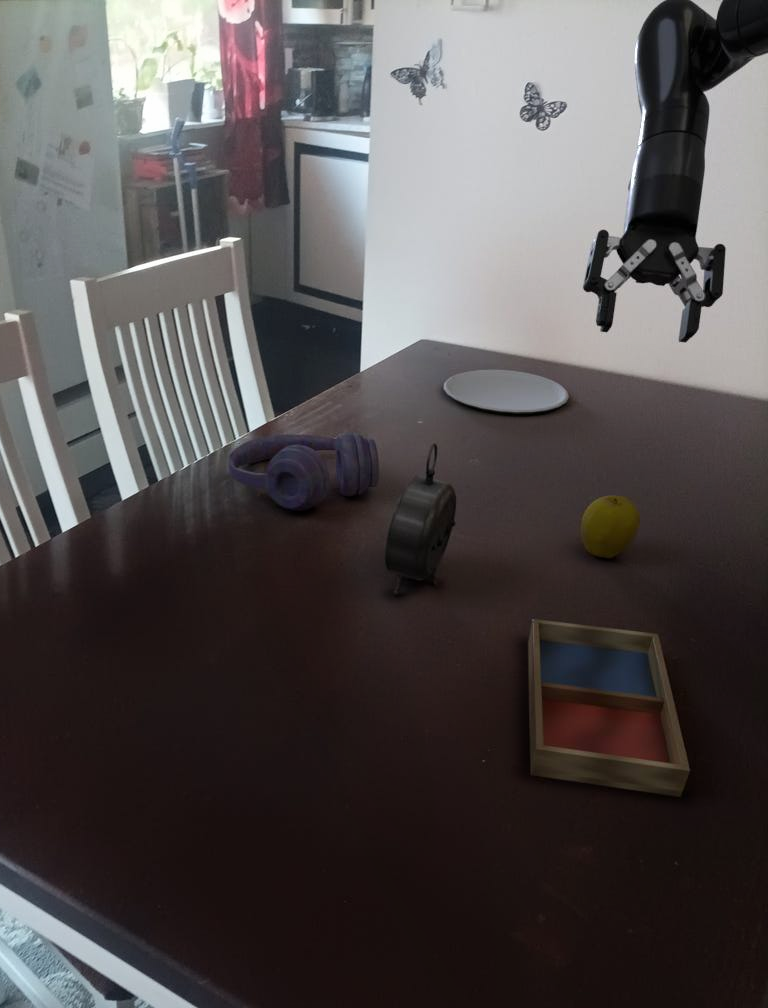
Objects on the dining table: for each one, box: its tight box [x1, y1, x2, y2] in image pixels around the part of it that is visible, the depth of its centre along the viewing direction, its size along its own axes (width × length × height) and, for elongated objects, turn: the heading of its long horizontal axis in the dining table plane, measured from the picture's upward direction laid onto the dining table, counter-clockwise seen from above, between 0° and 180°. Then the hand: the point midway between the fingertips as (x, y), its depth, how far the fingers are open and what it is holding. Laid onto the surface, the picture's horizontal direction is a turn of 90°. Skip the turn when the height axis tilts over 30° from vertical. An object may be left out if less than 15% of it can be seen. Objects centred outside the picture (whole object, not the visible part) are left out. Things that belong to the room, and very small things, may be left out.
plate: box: [443, 369, 570, 415], centre depth 152 cm, size 21×21×1 cm
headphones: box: [227, 432, 380, 512], centre depth 120 cm, size 18×8×20 cm
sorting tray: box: [527, 618, 691, 798], centre depth 82 cm, size 12×20×3 cm, turn 168°
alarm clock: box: [384, 442, 457, 597], centre depth 97 cm, size 11×5×16 cm, turn 154°
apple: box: [580, 494, 641, 559], centre depth 105 cm, size 6×6×8 cm
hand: (645, 334), depth 98 cm, fingers open, 8 cm apart
